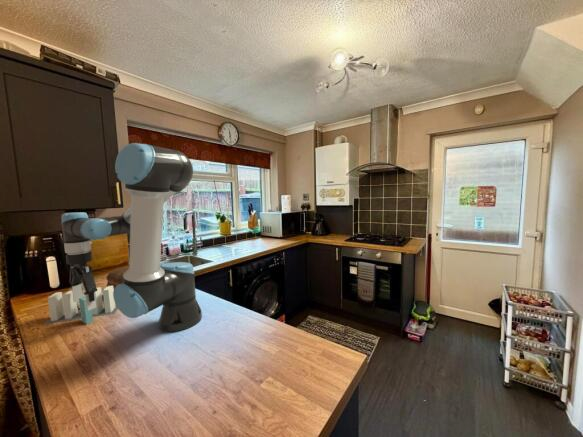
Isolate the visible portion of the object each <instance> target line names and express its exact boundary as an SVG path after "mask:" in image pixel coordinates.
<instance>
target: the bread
mask: <svg viewBox="0 0 583 437" xmlns="http://www.w3.org/2000/svg"><path fill="white" fill-rule="evenodd" d="M128 269H129V265H126V266H124V267H123V266H122V267H119V268H118V267H117V268H115V269H114V270H112V271H110V272H108V274H107V275H106V280H107V283H106V287H108V286H113V288H114V289H115V287H116V286H118V285H119V284H122V283H123V274H124V273H125V272H126V271H127V270H128Z"/></svg>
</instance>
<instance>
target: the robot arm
mask: <svg viewBox="0 0 583 437" xmlns="http://www.w3.org/2000/svg"><path fill="white" fill-rule="evenodd" d="M114 165H115V166H114V167H115V168H114V169H115V173H116V174H117V175H116V177H117V179H118V180H119V181H120V182H121V183H123V184H124V188H125V190H126V192H128V193H129V194H130V206H129V207H128V208H127V209H126V211H124V213H122V214H121V215H116V216H115V215H114V216H103V217H92V218H89V216H88V214H87V212H85V211H84V212H83V211H82V212H81V211H80V212H78V211H77V212H65V213H62V214H61V222H60V223H61V227H62V235H63V236H62V237H63V244H64V245H63V246H64V253H65V260H66V262H65V263H66V265H69V279H68V280H69V281H68V283H69V284H70V286H71V291H72V292H73V300H74V302H78V301H79V298H81V297H82V288H81V284H82V283H83V286H84V288H85V291H86V292H85V293H84V295H85V298H86V307H87V311H88V310H91V309H94V308H96V298H95V291H97V287H98V286H97V284H96V281H95V280H96V279H95V278H94V274H93V270H92V266H91V265H89V266H88V263H90V262H92V261H93V253H92V251H91V250H92V245H93V242H92V241H91V240H94V241H95V240H103V239H105V238H107V237H112V236H113V237H114V236H119V235H125V234H126V235H128V234H129V258H128V260H129V261H128V262H129V263H128V266H129V269H128V270H127V271H126V272H125V273H124V274H123V283H122V284H119V285H118V286H116V287H115V289H114V291H113V297H114V301H115V305H116V306H117V307H118V310H119V311H120V313H121V314H123V315H124V316H125V317H127V318H131V319H137V318H139V317H141V316H143V315H147V314H149V313H150V312H151V311H153V310H156V309H158V308H159V307H162V309H161V312H160V316H159V320H158V324H159V329H160V330H161V331H164V332H179V331H184V330H186V329H189V328H191V327H194V326H195V325H197V324H198V323H199V322H200V321H201V320H202V318H203V314H202V313H203V312H202V308H201V307H200V305H199V302H198V300H197V298H196V297H197V295H196V283H195V271H194V266H193V264H192V263H191V262H184V261H183V262H182V261H178V262H176V261H175V262H167V263H162V264H161V259H162V258H161V254H162V236H163V235H162V234H163V220H164V219H163V216H164V215H163V214H164V204H165V203H166V202H167V201H168V200H169V199H170V198H171V197H172V196H174V194H176V193H177V194H178V193H181V192H182V191H183V190H184V189H185V188H187V186H189V184H190V182H191V180H192V179H193V176H194V167H193V164H192V162H191V160H190V158H189V157H188V156H187V155H186V154H185V153H184V152H182V151H179V150H177V149H172V148H171V149H170V148H167V147H166V148H164V147H160V146H156V145H153V144H152V145H151V144H147V143H138V142H131V143H127V144H126V145H125V146H123V147H122V149H120V151H119V152H118V154H117V156H116V159H115V164H114ZM78 284H80V285H78ZM96 286H97V287H96ZM90 289H91V290H90Z"/></svg>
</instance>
